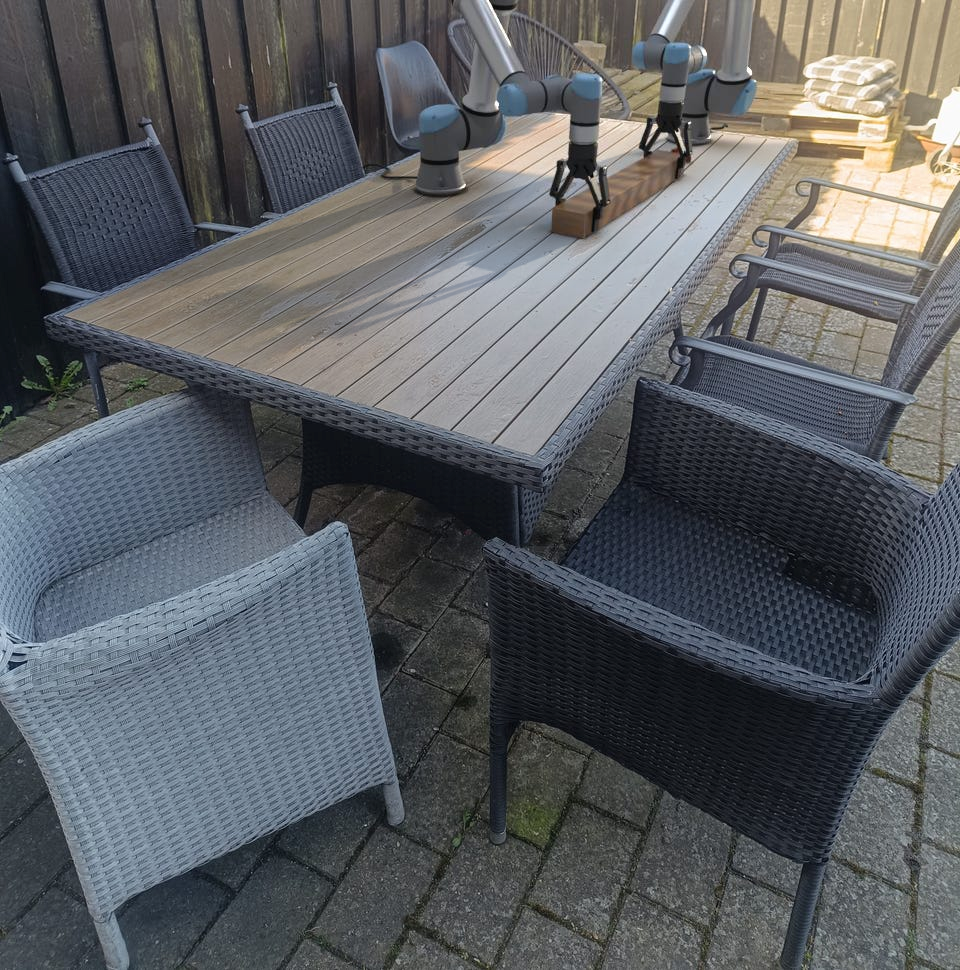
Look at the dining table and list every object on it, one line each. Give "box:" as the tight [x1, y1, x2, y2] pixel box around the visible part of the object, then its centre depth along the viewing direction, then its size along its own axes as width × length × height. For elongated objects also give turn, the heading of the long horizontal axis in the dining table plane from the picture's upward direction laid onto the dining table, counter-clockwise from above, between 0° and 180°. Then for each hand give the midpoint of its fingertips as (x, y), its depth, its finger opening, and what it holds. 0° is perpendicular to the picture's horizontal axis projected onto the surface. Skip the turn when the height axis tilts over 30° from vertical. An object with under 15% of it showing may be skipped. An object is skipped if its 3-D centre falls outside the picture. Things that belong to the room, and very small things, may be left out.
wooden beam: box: [550, 149, 686, 239], centre depth 248 cm, size 71×10×6 cm, turn 147°
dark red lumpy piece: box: [669, 147, 692, 163], centre depth 284 cm, size 6×4×8 cm
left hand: (577, 227), depth 229 cm, fingers closed on wooden beam, 10 cm apart
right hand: (662, 175), depth 269 cm, fingers closed on wooden beam, 10 cm apart
